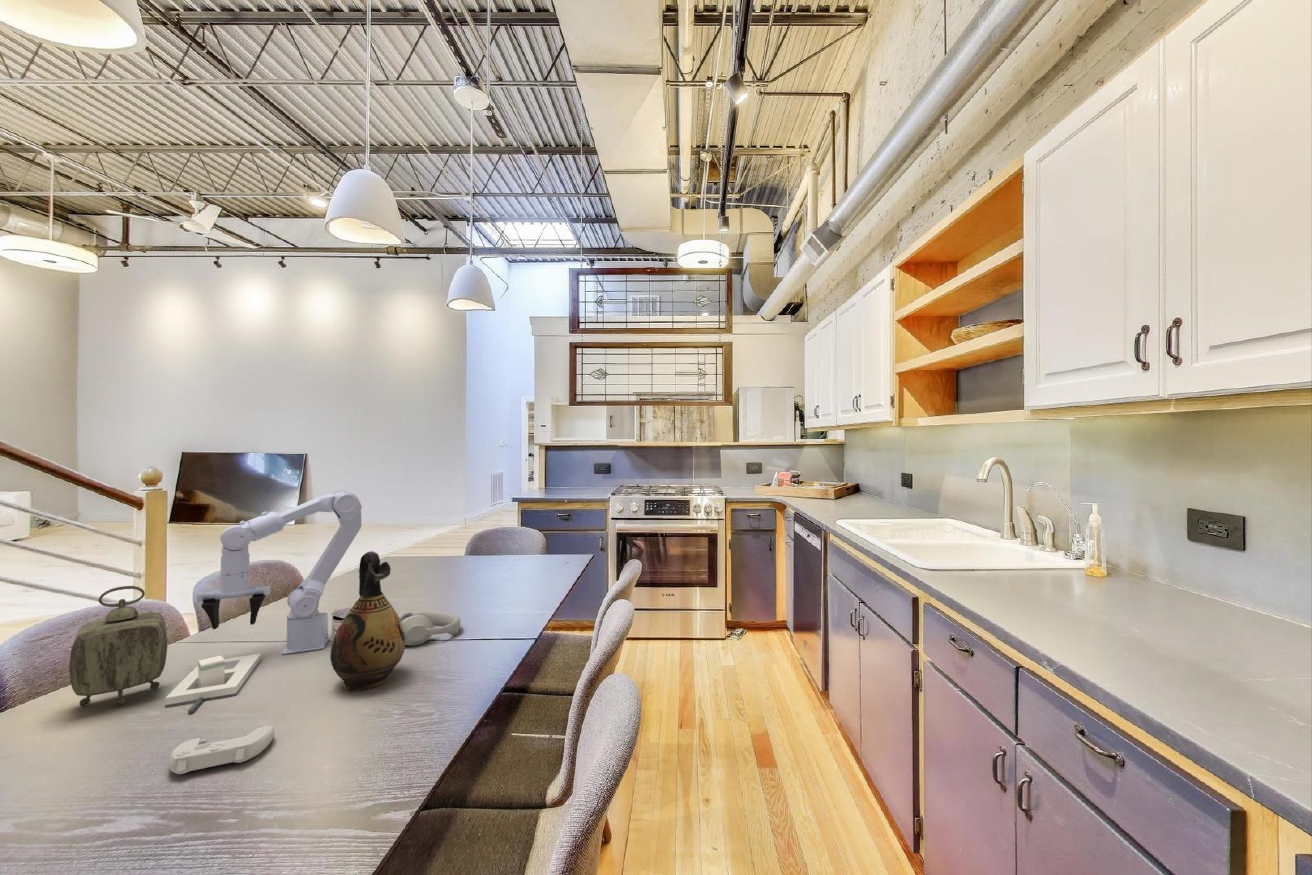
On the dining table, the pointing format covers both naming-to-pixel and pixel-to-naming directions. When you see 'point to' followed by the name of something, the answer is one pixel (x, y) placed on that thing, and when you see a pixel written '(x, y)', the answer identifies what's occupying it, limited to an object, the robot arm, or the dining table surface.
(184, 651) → the dining table surface
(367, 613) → the ceramic jug
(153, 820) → the dining table surface
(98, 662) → the tabletop clock
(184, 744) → the game controller
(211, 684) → the block
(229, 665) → the power strip
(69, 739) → the dining table surface
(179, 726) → the dining table surface
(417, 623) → the headphones
